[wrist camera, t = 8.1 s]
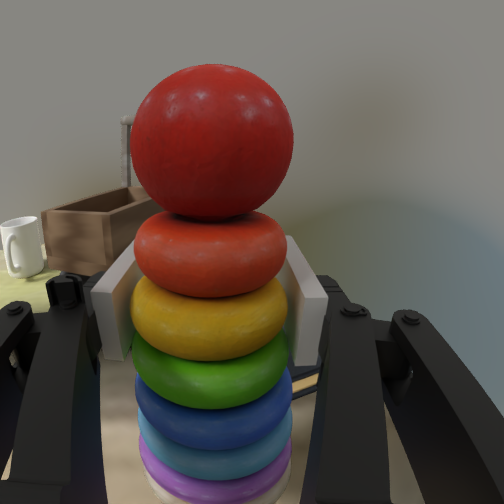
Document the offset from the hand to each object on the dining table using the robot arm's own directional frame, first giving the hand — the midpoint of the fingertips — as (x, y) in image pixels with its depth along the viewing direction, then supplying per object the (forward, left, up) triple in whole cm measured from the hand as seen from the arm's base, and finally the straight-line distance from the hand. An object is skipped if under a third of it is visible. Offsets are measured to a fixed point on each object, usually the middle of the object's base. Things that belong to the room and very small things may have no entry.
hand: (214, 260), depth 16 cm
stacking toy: (+1, -5, -11) cm, 12 cm away
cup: (-47, +22, -17) cm, 55 cm away
